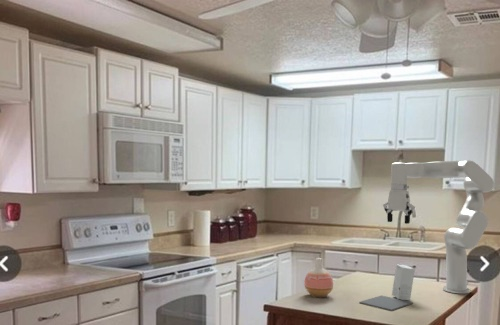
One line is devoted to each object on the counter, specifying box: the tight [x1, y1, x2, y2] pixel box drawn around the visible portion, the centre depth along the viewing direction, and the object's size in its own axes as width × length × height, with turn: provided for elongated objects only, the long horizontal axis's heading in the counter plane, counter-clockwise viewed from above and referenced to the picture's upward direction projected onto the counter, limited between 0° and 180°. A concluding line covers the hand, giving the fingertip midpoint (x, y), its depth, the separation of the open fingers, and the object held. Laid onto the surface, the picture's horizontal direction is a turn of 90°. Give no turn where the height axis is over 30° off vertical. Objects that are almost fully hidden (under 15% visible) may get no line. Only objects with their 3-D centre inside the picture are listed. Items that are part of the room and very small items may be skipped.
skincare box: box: [391, 264, 416, 302], centre depth 219 cm, size 8×6×15 cm
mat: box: [359, 295, 414, 312], centre depth 210 cm, size 18×16×1 cm
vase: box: [303, 257, 334, 298], centre depth 222 cm, size 14×14×18 cm
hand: (398, 222), depth 230 cm, fingers open, 9 cm apart
